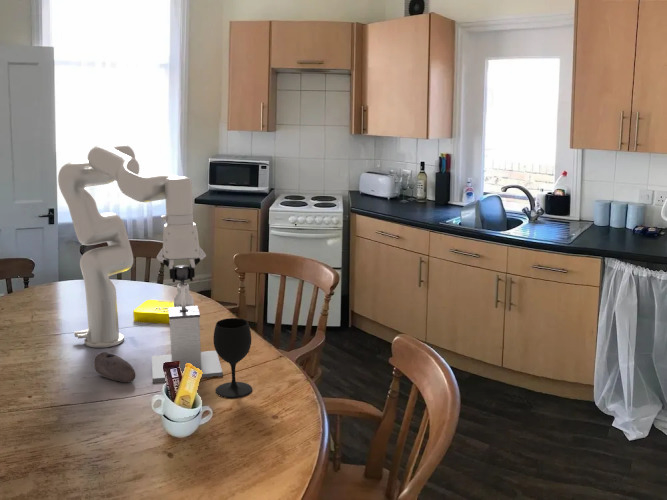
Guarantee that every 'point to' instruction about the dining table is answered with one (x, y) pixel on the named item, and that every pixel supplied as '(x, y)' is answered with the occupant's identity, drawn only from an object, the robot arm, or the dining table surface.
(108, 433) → the dining table surface
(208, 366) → the grey board
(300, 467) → the dining table surface
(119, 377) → the perforated stone tool
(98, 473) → the dining table surface
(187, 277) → the dark grey cylinder
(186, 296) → the plastic bottle
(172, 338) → the grey block
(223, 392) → the wine glass
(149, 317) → the element tile
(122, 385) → the dining table surface
